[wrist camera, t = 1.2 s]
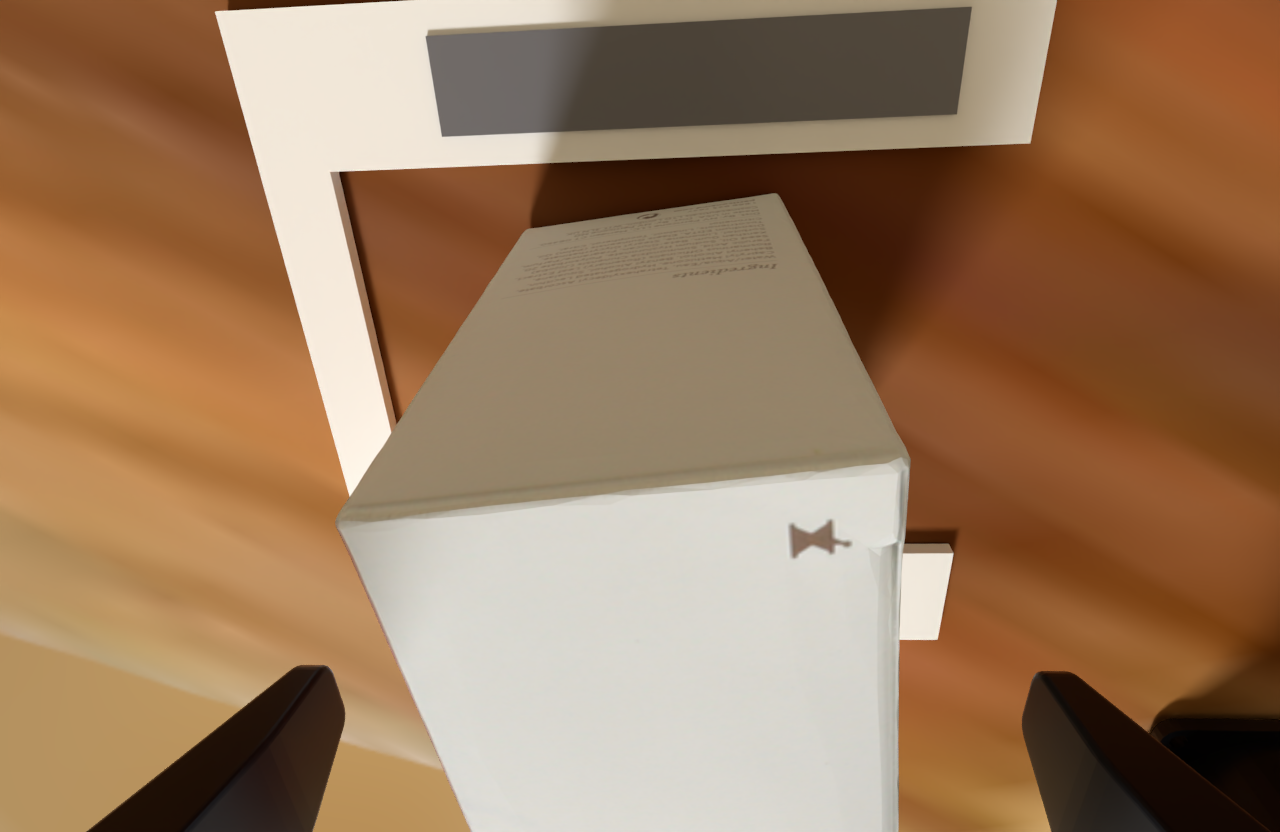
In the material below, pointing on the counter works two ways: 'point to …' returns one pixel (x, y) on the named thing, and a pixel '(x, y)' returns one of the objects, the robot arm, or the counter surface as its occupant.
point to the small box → (648, 538)
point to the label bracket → (597, 125)
